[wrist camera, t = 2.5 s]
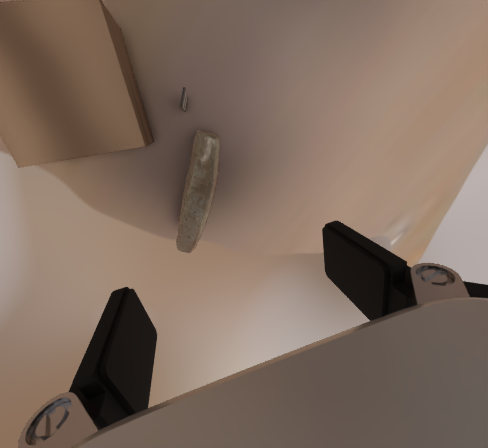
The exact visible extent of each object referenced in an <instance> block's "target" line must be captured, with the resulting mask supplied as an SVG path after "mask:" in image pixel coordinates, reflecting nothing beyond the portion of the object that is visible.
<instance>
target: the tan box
mask: <svg viewBox="0 0 488 448" xmlns="http://www.w3.org/2000/svg"><path fill="white" fill-rule="evenodd" d="M0 136H1V137H2V139H3V141H4V143H5V144H6V146H7V148H8V150H9V151H10V153H11V155H12V157H13V158H14V160H15V162H16V164H17V165H18V167H25V166H31V165H37V164H43V163H49V162H55V161H61V160H67V159H73V158H79V157H85V156H92V155H98V154H104V153H110V152H116V151H122V150H128V149H134V148H140V147H145V146H147V145H149V144H151V143H152V142H154V141H153V138H152V134H151V131H150V128H149V124H148V121H147V117H146V114H145V111H144V107H143V104H142V101H141V97H140V94H139V91H138V87H137V84H136V80H135V77H134V74H133V70H132V67H131V64H130V60H129V57H128V53H127V50H126V47H125V43H124V40H123V37H122V33H121V30H120V28H119V26H118V25H117V23H116V22H115V20H114V19H113V17H112V16H111V14H110V13H109V11H108V10H107V8H106V7H105V6H104V4H103V3H102V1H101V0H26V1H10V2H0Z"/></svg>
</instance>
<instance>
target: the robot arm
mask: <svg viewBox="0 0 488 448" xmlns="http://www.w3.org/2000/svg"><path fill="white" fill-rule="evenodd" d="M322 232H323V247H324V262H325V272H326V275H327V276H328V278H329V279H330V280H331V281H332V282H333V283H334V284H335V285H336V286H337V287H338V288H339V289H340V290H341V291H342V292H343V293H344V294H345V295H346V296H347V297H348V298H349V299H350V300H351V301H352V302H353V303H354V304H355V306H356V307H357V308H358V309H359V310H360V311H362V313H363V314H364V315H365V316H366V317H367V318H368V319H369V320H370V321H369V322H367V323H364V324H361V325H359V326H356V327H353V328H351V329H348V330H346V331H343V332H341V333H338V334H335V335H333V336H330V337H327V338H325V339H322V340H320V341H317V342H314V343H312V344H309V345H307V346H304V347H301V348H299V349H297V350H294V351H291V352H289V353H286V354H283V355H281V356H278V357H276V358H273V359H271V360H268V361H265V362H263V363H260V364H258V365H255V366H253V367H250V368H248V369H245V370H242V371H240V372H237V373H235V374H232V375H230V376H227V377H225V378H222V379H220V380H217V381H215V382H212V383H210V384H207V385H205V386H202V387H200V388H197V389H195V390H192V391H190V392H187V393H184V394H182V395H180V396H177V397H174V398H172V399H170V400H167V401H165V402H162V403H160V404H158V405H155V406H153V407H150V408H148V403H149V396H150V388H151V379H152V372H153V365H154V357H155V349H156V341H157V333H156V329H155V327H154V326H153V324H152V322H151V320H150V318H149V316H148V314H147V312H146V311H145V309H144V307H143V305H142V303H141V302H140V300H139V298H138V296H137V294H136V292H135V291H134V289H129V288H128V287H125V288H122V289H118V290H115V291H113V292H112V293H111V296H110V298H109V300H108V303H107V305H106V307H105V309H104V312H103V314H102V316H101V319H100V321H99V323H98V325H97V328H96V330H95V332H94V335H93V337H92V339H91V341H90V344H89V346H88V348H87V351H86V353H85V355H84V357H83V359H82V362H81V364H80V366H79V369H78V371H77V373H76V375H75V378H74V380H73V383H72V385H71V387H70V390H69V392H66V393H62V394H59V395H58V396H56V397H54V398H52V399H50V400H49V401H48V402H47V403H45V404H44V405H43V406H42V407H41V408H40V409H39V410H37V411H36V412H35V413H34V415H33V416H32V417H31V418H30V420H29V421H28V422H27V424H26V425H25V427H24V429H23V431H22V432H21V435H20V438H19V441H18V444H19V445H18V446H19V447H18V448H488V285H485V284H478V283H471V282H464V281H462V279H461V277H460V276H459V274H458V273H456V272H455V271H454V270H452V269H450V268H448V267H445V266H443V265H439V264H434V263H421V264H417V265H415V266H413V267H412V268H411V267H409V266H407V262H406V261H405V260H403V259H401V258H400V257H398V256H396V255H395V254H393V253H391V252H390V251H388V250H386V249H385V248H383V247H381V246H380V245H378V244H376V243H374V242H373V241H371V240H370V239H368V238H366V237H365V236H363V235H361V234H359V233H358V232H356V231H354V230H353V229H351V228H349V227H348V226H346V225H344V224H343V223H341V222H339V221H333V222H330V223H327V224H325V227H324V228H323V229H322Z"/></svg>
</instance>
